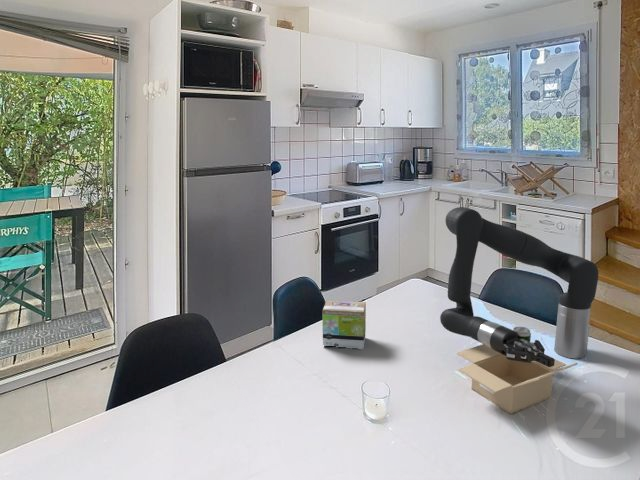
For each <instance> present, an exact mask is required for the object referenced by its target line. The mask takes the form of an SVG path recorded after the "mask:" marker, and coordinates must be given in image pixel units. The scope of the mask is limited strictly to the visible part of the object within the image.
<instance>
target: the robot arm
mask: <svg viewBox="0 0 640 480" xmlns="http://www.w3.org/2000/svg"><path fill="white" fill-rule="evenodd" d="M445 226H446V227H447V230H449V232H451V233H452V234H454V235H455V236H456V250H455V256H454V259H453V262H452V265H451V268H450V271H449V274H448V283H447V298H448V300H449V301H451V302H454V303H456V304H455V305H456V306H455V307H451V308H447V309H444V310H443V311H442V312H441V314H440V316H439V317H440V318H439V320H440V324H441V325H442V327H444V329H445V330H447V331H448V332H451V333H453V334H456V335H460V336H464V337H468V338H471V339H472V340H474V341H476V342H478V343H480V344H481V345H483V344H484V345H485V346H487V347H489V348H491V349H493V350H495V351H497V352H499V353H501V354H503V355H505V356H507V357H506V359H508V360H514V361H520V362H526V363H531V361H533V362H539V363H541V364H543V365H545V366H547V367H552V366H554V363H555V358H554V357H552V356H550V355H548V354H545V351H546V349H545V347H544V345H543V344H542V343H541V341H540V340H539V339H538V340H537V339H536V340H535V339H534V342H533V341H532V342H531V341H530V342H529V341H528V340H524V339H521V338H520V336H519V335H518V333H517V332H516V331H513V329H511V328H508V327H506V326H504V325H502V324H499V323H498V322H493V321H491V320H489V319H486V318H484V317H481V316H478V315H477V316H476V315H475V314H474V307H473V304H472V299H471V292H472V279H473V271H474V270H473V269H474V264H475V258H476V255H477V252H478V251H477V249H478V245H479V243H481V244H483V245H484V246H487V247H489V248H490V249H492V250H493V251H496V252H497V253H499V254H501V255H503V256H505V257H506V258H509V259H511V260H514V261H516V262H519V263H522V264H523V265H529V266H531V267H538V268H541V269H544V270H546V271H548V272H550V273H551V274H553V275H554V276H556V277H558V278H560V279H561V280H563V281H565V282H566V283H568V285H567V286H568V287H567V291H566V292H562V293H560V295H559V297H558V305H557V306H558V307H557V317H556V327H555V338H554V346H553V350H554V352H555V353H556V354H557V355H559V356H561V357H564V358H569V359H583V358H585V357H586V354H587V352H588V345H589V344H588V343H589V335H590V319H591V318H590V316H591V308H592V303H593V302H594V300H595V298H596V294H597V287H598V282H599V268H598V266H597V264H595V263H594V262H593V261H591V260H589V259H586V258H584V257H582V256H579V255H575V254H571V253H569V252H564V251H562V250H558V249H556V248H553V247H551V246H550V245H548V244H547V243H546V242H544V241H542V240H541V239H539V238H537V237H536V236H533V235H531V234H529V233H526V232H524V231H522V230H519V229H516V228H513V227H509V226H507V225H503V224H499V223H495V222H493V221H489V220H487V219H485V218H483V217H482V215H481V214H480V212H478V211H477V210H475V209H474V208H472V209H471V208H469V207H466V206H464V207H463V206H460V207H459V206H458V207H455V208H452V209H451V210H449V211H448V212H447V213H446V216H445Z"/></svg>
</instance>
